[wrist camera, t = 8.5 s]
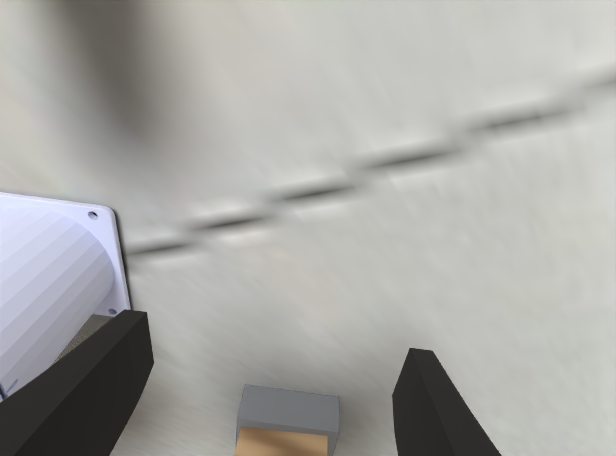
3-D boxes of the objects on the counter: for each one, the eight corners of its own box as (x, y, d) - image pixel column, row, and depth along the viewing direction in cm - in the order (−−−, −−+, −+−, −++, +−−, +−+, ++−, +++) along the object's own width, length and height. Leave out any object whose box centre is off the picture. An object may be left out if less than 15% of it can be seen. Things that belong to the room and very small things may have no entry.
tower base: (243, 434, 31) (234, 472, 29) (246, 380, 28) (236, 418, 25) (325, 445, 31) (324, 484, 29) (338, 393, 28) (339, 432, 25)
